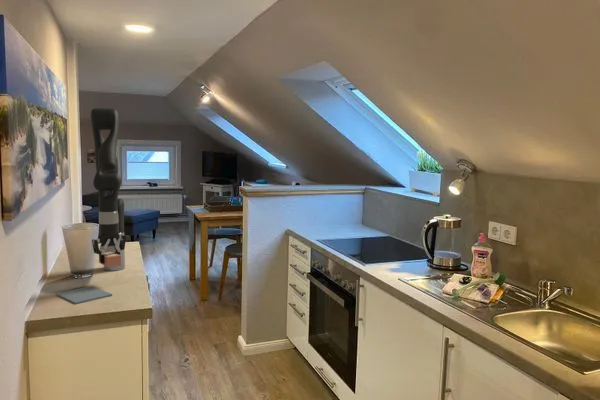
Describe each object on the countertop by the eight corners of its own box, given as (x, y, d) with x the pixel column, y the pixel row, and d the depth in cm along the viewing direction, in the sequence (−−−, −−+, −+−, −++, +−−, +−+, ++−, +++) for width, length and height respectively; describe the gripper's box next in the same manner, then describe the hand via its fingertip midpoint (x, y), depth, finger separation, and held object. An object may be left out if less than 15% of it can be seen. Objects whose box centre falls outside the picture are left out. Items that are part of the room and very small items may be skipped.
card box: (99, 262, 196) (98, 253, 195) (112, 260, 199) (112, 251, 199) (107, 267, 189) (107, 257, 189) (121, 265, 193) (120, 255, 192)
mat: (56, 295, 179) (56, 293, 179) (92, 287, 190) (92, 285, 190) (75, 304, 169) (75, 302, 169) (112, 295, 180) (112, 294, 180)
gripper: (120, 218, 200) (121, 257, 202) (87, 222, 189) (88, 263, 191) (129, 221, 195) (130, 260, 197) (96, 225, 184) (97, 266, 186)
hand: (109, 261), depth 194 cm, fingers closed on card box, 5 cm apart
